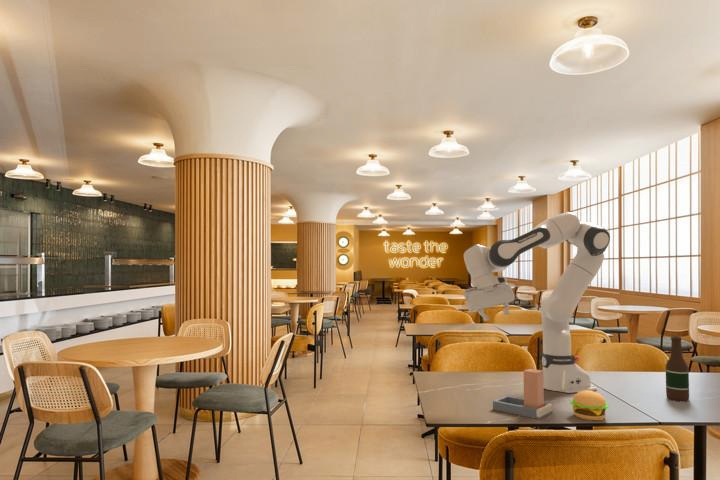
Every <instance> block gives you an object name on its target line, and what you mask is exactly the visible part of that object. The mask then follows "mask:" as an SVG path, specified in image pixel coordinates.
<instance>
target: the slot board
mask: <svg viewBox="0 0 720 480" xmlns="http://www.w3.org/2000/svg"><path fill="white" fill-rule="evenodd" d="M492 410H494V411H496V412H497V411H498V412H503V413H507V414H512V413H513V415H516V414H519V415H518V416H521V415H524V416H523V417H526V416H527V418H530V417H533V418H532V419H535V418H537V420H542V419H544V418H546V417H548V416H550V415H552V414H553V404H552V403H548V402H544V406H543V407H541V408H534V407H529V406H524V398H521V397H514V396H510V395H505V396H502V397H499V398H497V399H494V400H493V401H492Z"/></svg>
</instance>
